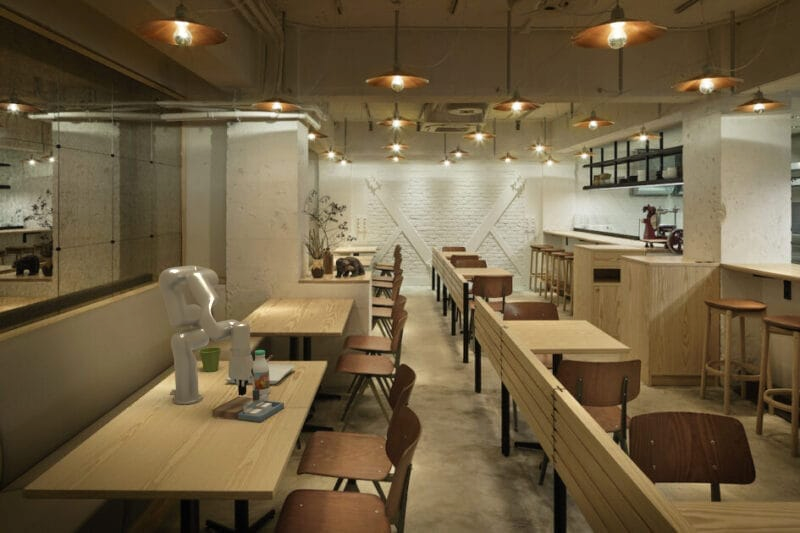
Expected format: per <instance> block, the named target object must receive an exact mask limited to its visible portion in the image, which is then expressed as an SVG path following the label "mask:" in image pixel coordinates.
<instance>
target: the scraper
mask: <svg viewBox="0 0 800 533" xmlns="http://www.w3.org/2000/svg"><path fill="white" fill-rule="evenodd" d="M252 398H253V401H251V402H249V403H247V404H245V405H243V406H244V412H248V411H249V410H251V409H253V408H255V407H256V406H258V405H260V404H262V403H264V402H265V401H270V400H269V399H270V398H269V393H268V394H264V395H260V394H259V389H254V390H253V389H252Z"/></svg>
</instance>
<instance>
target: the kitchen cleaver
mask: <svg viewBox="0 0 800 533" xmlns="http://www.w3.org/2000/svg"><path fill="white" fill-rule="evenodd" d="M273 358H275V354H271V355H269V356H268V357H267V358H265V360H266V362H267V363H269V361H271V360H272V359H273Z"/></svg>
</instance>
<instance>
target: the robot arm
mask: <svg viewBox="0 0 800 533" xmlns="http://www.w3.org/2000/svg"><path fill="white" fill-rule="evenodd" d="M218 284H219V276H218V274H217V273H216V272H215V271H214V270H213V269H211V268H207V267H202V266H199V265H192V264H191V265H181V266H174V267H170V268H166V269H165V270H162V272H160V274H159V276H158V288H159V290H160V293H161V296H162V297H163V301H164V305H165V309H166V313H167V317H168V321H169V324H170V326H171V327H172V328H173V329H184V328H186V327H187V328H188V327H189V328H190V329H189V328H188V329H185V330H181V331H177V332H175V333H174V334H173V335H172V336H171V338H170V346H171V350H172V356H173V363H174V380H175V382H174V384H175V389H174V388H173V389H171V391H170V392H169V395H170V396H174V398H172V403H173V404H175V405H179V406H180V405H181V406H183V405H192V404H196V403H199V402H201V401H202V400H203V395H202V394H199V392H200V391H199V377H198V376H199V374H198V360H197V357H196V355H195V354H194V353H193V351H196V350H200V349H203V348H206V346H208V345H209V343H210V339H211V340H212V341H215V342H220V341H223V340H227V339H231V348H229V352H231V354H230V355H229V360H228V377H229V378H230V379H231V380H233V381H235V382H236V383H235V384H236V386H237V391H238V396H240V397H244V396H245V395H247V385H249V384H248V383H250V382H253V381H254V379H253V377H254V358H253V356H252V354H251V352H252V351H251V327H250V323H249V322H246V321H239V320H236V319H233V318H231V319H227V320H222V321H216V319H215V318H214V317H213V315H212V308H214V306H216V305H217V304H218V302H219V301H220V297H219V295H218V293H217V292H216V290H215V287H217V286H218ZM181 286H182V287H183V286H187V288H188V289H189V290H190V292H191V294H192V296H193V297H194V299H195V300H196V302H197V303H198V304H195V303H193V304H187V301H186V297H185V295H184V293H183V291H181V289H180V288H179V287H181Z"/></svg>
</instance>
